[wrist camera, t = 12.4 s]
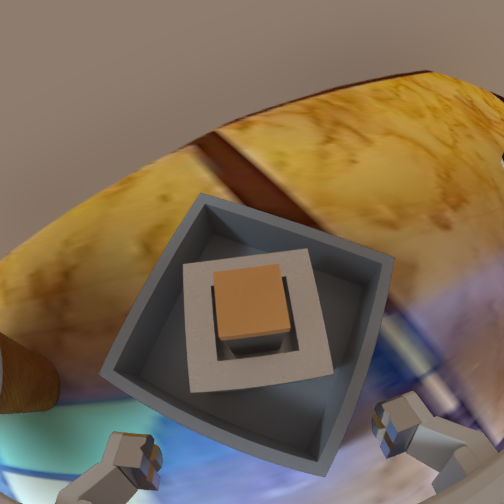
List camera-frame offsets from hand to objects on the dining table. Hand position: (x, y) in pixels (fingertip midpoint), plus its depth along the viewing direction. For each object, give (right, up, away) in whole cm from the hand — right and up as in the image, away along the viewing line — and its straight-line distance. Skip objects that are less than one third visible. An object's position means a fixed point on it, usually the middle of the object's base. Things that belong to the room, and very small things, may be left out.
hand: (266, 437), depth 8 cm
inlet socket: (0, -1, +17) cm, 17 cm away
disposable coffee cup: (-24, -8, +14) cm, 29 cm away
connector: (0, 0, +14) cm, 14 cm away
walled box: (0, -1, +17) cm, 17 cm away
